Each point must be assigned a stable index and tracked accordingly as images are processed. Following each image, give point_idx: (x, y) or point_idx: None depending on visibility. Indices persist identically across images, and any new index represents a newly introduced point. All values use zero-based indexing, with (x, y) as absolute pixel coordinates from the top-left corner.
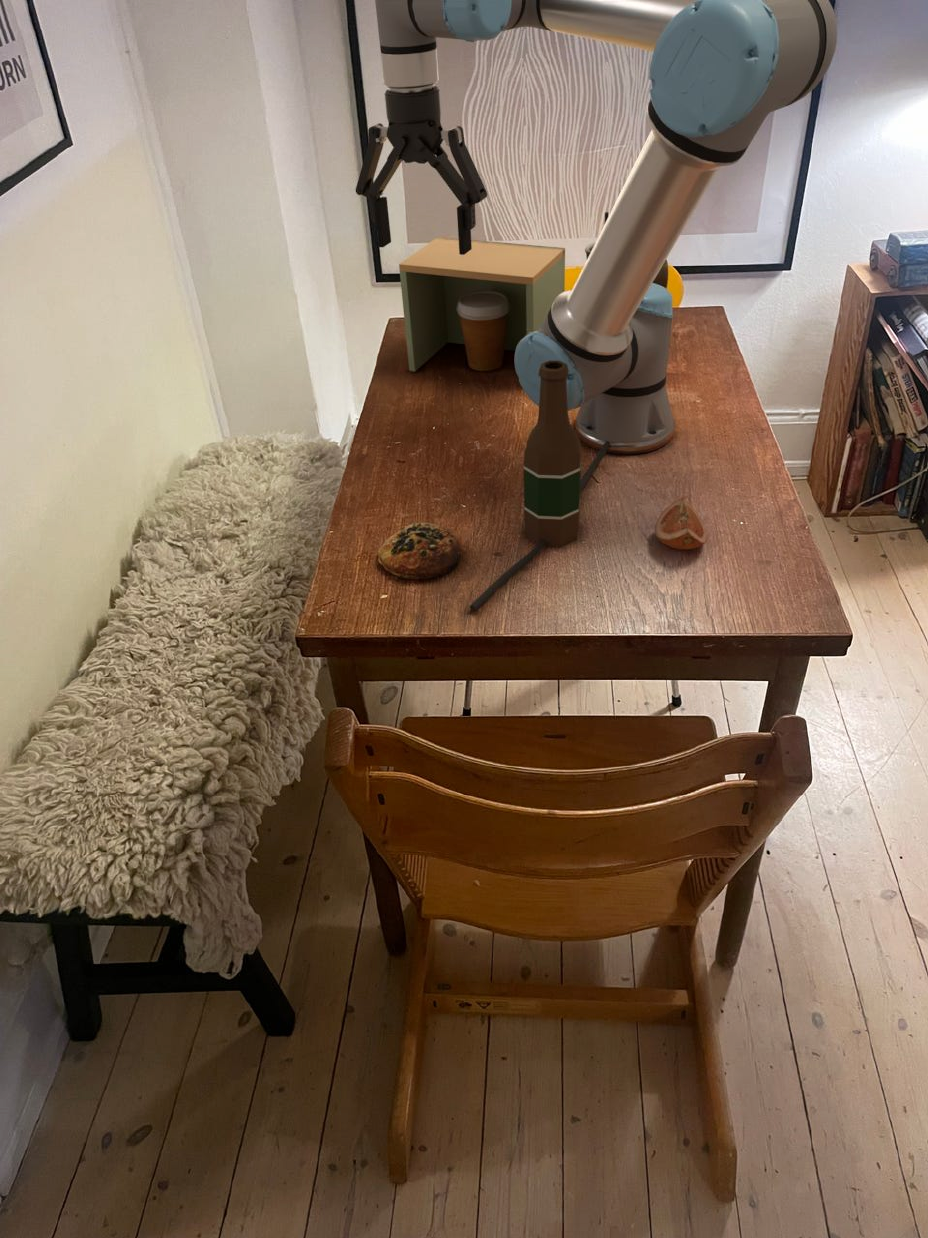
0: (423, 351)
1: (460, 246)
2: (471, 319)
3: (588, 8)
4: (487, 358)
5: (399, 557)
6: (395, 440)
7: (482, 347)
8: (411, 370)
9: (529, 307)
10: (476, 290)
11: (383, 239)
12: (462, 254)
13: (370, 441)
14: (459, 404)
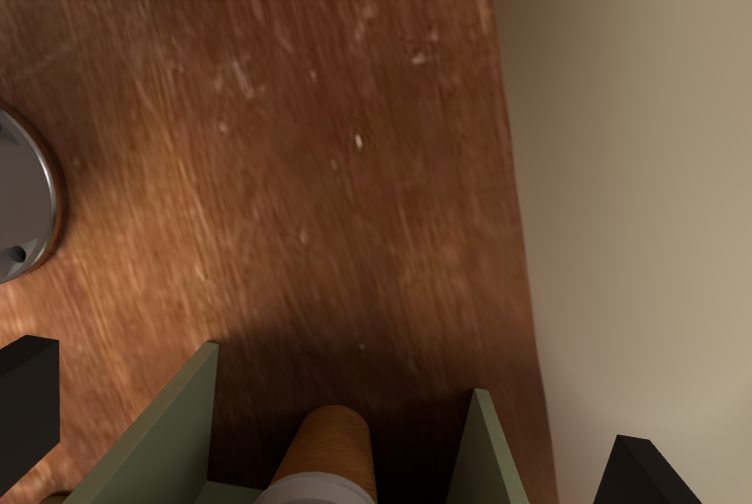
0: (468, 442)
1: (9, 362)
2: (330, 473)
3: None
4: (315, 420)
5: None
6: (427, 69)
7: (319, 432)
8: (483, 389)
9: (116, 454)
10: None
11: (633, 481)
12: (36, 336)
13: (482, 54)
14: (336, 255)
